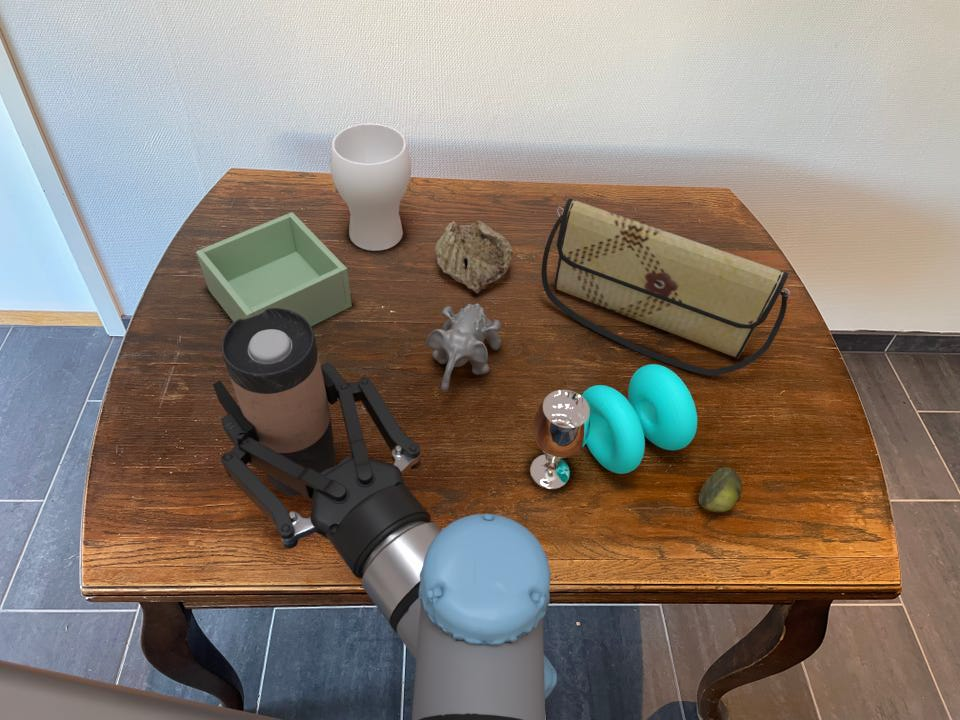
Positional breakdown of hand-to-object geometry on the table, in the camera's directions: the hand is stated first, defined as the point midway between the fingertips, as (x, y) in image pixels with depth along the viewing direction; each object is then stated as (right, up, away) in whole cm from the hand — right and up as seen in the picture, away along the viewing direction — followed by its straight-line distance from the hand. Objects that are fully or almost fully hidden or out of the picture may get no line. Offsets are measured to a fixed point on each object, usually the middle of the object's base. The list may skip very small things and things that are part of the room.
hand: (259, 371), depth 66 cm
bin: (-5, +9, +26) cm, 28 cm away
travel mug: (+2, -10, +6) cm, 12 cm away
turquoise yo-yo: (+38, -9, +14) cm, 41 cm away
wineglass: (+29, -11, +11) cm, 33 cm away
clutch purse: (+42, +4, +25) cm, 49 cm away
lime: (+46, -14, +10) cm, 50 cm away
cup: (+6, +19, +35) cm, 40 cm away
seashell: (+20, +14, +31) cm, 39 cm away
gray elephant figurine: (+19, 0, +20) cm, 27 cm away
